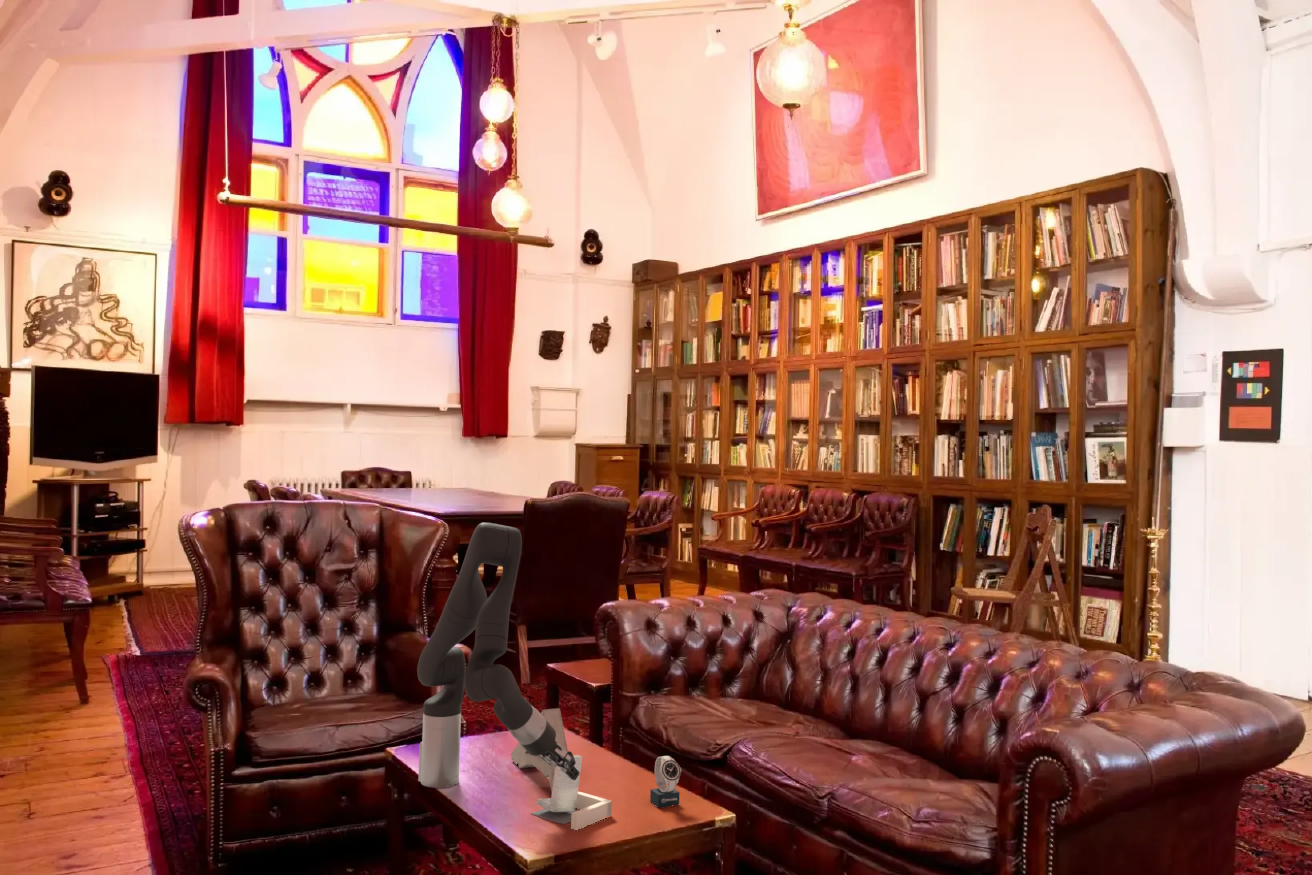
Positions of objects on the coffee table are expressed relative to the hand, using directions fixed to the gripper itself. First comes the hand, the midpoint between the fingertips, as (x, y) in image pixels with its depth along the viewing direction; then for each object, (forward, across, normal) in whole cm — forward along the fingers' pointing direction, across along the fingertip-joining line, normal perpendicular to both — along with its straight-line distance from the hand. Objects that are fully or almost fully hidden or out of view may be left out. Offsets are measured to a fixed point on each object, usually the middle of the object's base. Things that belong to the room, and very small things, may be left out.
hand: (573, 775), depth 229 cm
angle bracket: (+3, +2, +7) cm, 8 cm away
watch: (+22, -8, -9) cm, 25 cm away
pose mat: (+5, +2, +8) cm, 9 cm away
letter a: (+13, +24, 0) cm, 28 cm away
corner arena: (+6, -3, +7) cm, 9 cm away
